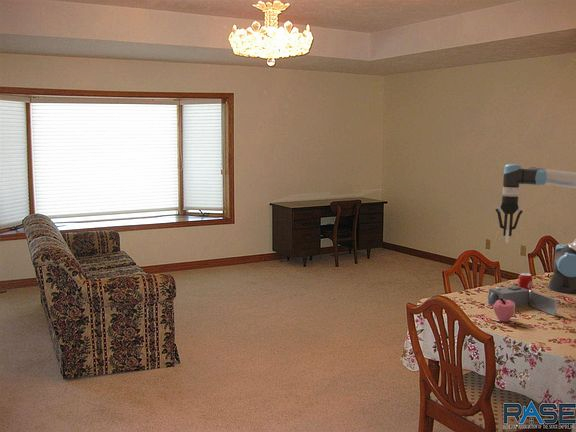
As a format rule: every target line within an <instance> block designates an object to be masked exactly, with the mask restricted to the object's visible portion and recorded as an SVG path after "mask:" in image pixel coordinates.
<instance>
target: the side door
mask: <svg viewBox="0 0 576 432" xmlns="http://www.w3.org/2000/svg"><path fill="white" fill-rule="evenodd" d="M527 306H530V307H532V308H534V309H537V310H540V311H542V312H544V313H546V314H549V315H552V316H554V317H555V316H557V311H558V310H557V307H558V300H557V299H554V298H552V297H550V296H547V295H544V294H541V293H538V292H535V291H534V290H533V289H531V290H529V301H528V305H527Z"/></svg>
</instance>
